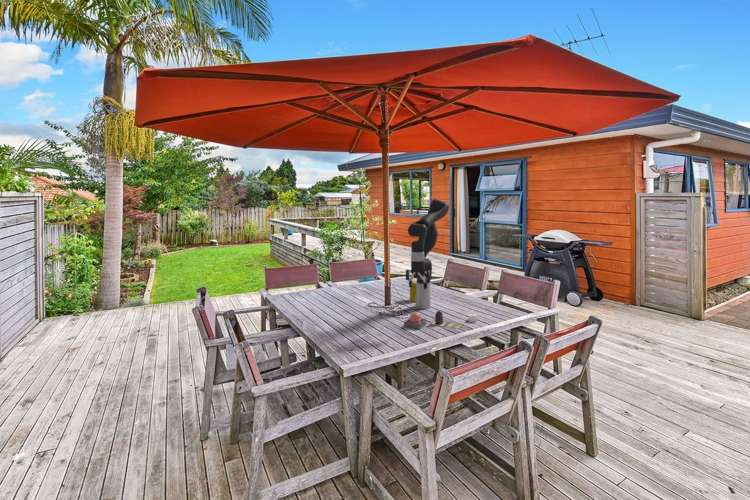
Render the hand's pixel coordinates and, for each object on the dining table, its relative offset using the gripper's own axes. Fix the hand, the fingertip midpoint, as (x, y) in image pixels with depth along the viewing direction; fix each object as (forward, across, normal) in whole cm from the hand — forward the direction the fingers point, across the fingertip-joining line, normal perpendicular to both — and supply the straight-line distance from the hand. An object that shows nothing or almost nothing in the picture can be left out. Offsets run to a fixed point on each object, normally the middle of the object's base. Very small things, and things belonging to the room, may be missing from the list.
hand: (418, 288), depth 209 cm
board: (+23, +14, +9) cm, 28 cm away
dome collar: (+22, -2, -1) cm, 23 cm away
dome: (+20, -1, -1) cm, 20 cm away
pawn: (+22, +9, +9) cm, 25 cm away
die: (+23, +25, +23) cm, 41 cm away
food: (+22, -25, +54) cm, 64 cm away
